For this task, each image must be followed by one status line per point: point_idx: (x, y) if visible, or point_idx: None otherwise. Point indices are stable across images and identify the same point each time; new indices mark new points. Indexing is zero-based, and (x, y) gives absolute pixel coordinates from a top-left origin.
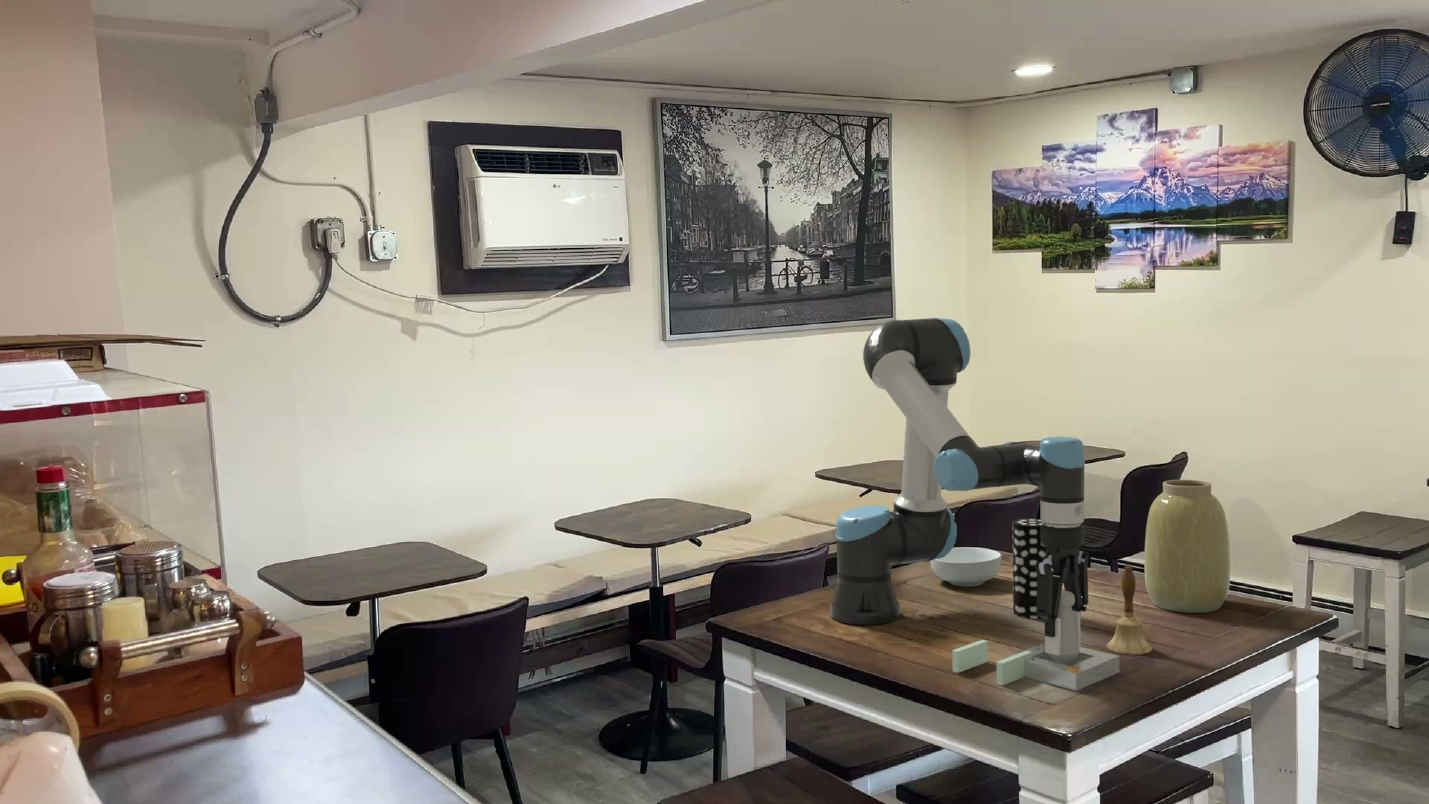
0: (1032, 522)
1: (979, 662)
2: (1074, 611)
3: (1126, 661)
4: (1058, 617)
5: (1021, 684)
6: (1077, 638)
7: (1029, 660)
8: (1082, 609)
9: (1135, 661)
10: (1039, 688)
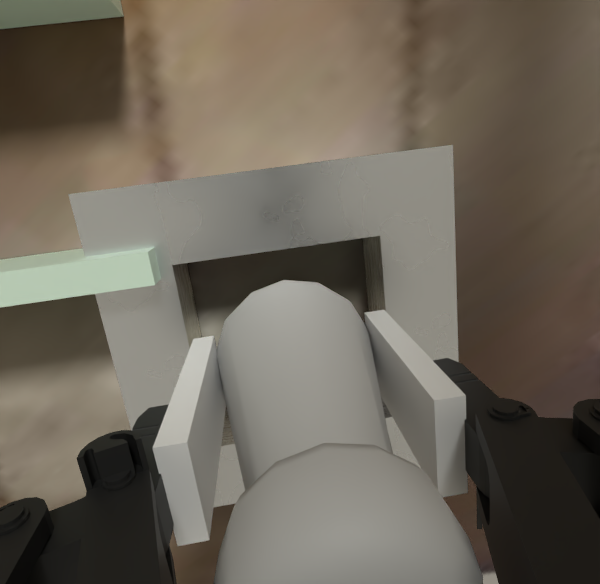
0: None
1: (49, 19)
2: (450, 463)
3: (551, 367)
4: (245, 490)
5: (47, 324)
6: (382, 395)
7: (117, 302)
8: (480, 523)
9: (571, 383)
10: (77, 390)
